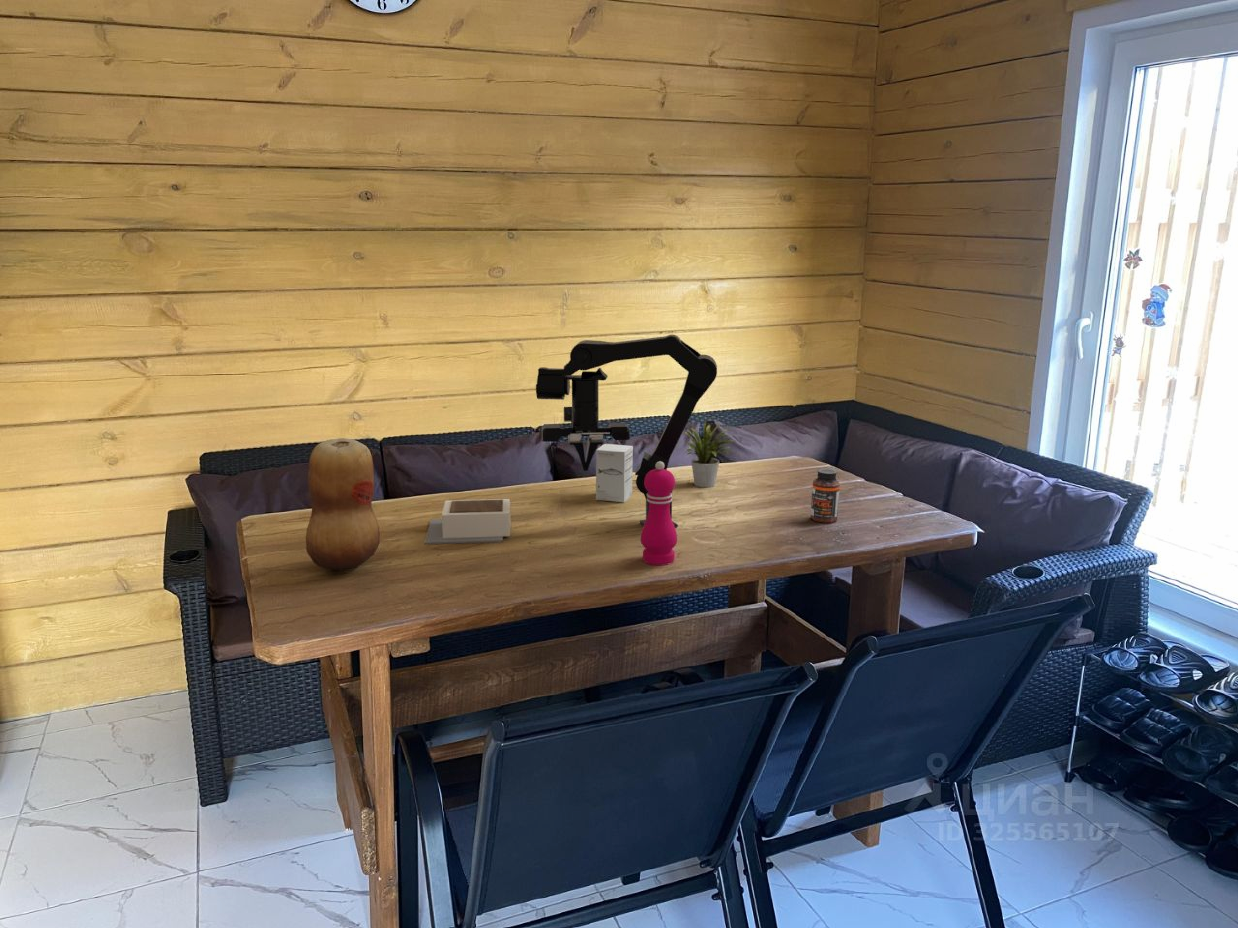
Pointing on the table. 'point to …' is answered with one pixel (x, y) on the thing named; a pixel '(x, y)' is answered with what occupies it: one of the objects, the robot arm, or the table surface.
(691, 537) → the table surface
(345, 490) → the butternut squash
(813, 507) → the supplement bottle
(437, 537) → the mat
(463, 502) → the picture frame
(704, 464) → the house plant
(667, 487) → the pepper mill
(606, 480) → the supplement box
